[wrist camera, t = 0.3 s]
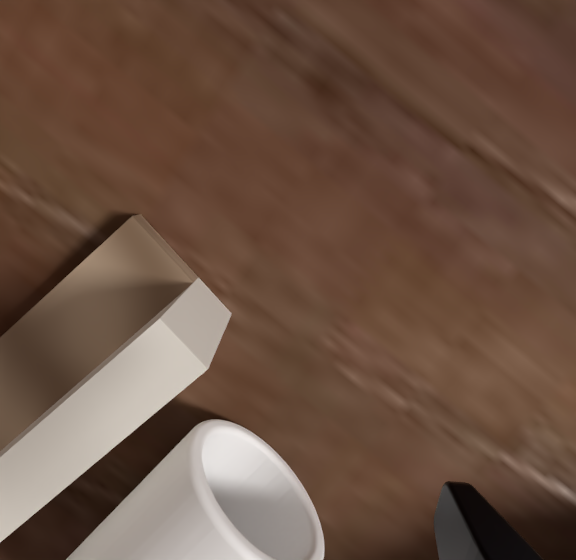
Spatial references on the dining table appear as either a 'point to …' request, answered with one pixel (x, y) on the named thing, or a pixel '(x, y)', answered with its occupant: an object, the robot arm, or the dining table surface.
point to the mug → (212, 505)
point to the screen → (98, 363)
